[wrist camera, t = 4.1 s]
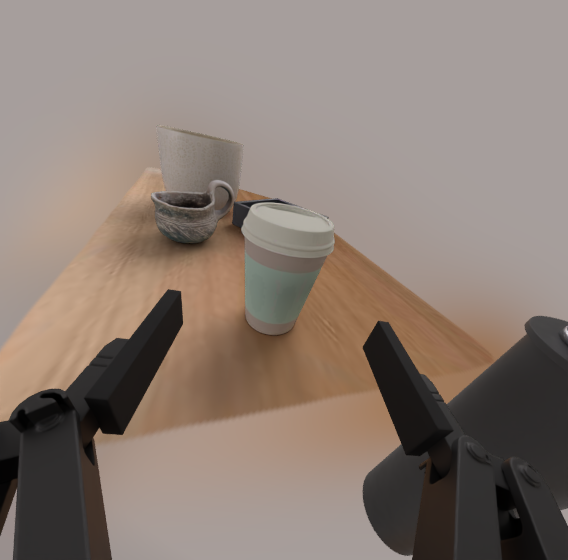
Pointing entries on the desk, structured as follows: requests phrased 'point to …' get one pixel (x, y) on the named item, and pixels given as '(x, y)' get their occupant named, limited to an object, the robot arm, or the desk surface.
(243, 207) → the bin
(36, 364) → the desk surface
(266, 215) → the coffee cup
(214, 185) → the mug
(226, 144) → the planter
